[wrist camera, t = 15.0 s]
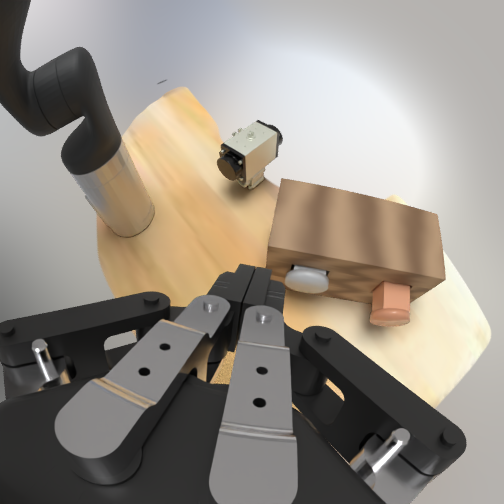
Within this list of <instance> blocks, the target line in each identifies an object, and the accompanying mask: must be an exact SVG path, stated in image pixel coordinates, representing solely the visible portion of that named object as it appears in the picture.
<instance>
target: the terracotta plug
mask: <svg viewBox="0 0 504 504" xmlns="http://www.w3.org/2000/svg"><path fill="white" fill-rule="evenodd" d="M409 322H410V285H405V284H399V283H394V282H388V281H382V282H381V283H380V284H379V285H377V286H376V287H375V288H374V289H373V301H372V312H371V313H370V323H372V324H374V325H378V326H401V325H405V324H407V323H409Z"/></svg>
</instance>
